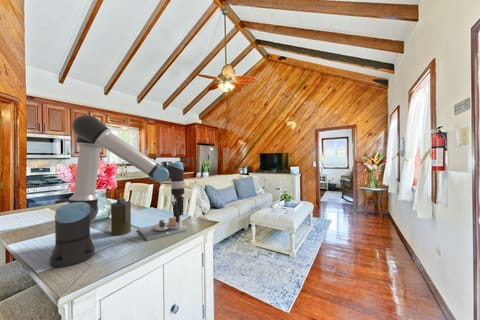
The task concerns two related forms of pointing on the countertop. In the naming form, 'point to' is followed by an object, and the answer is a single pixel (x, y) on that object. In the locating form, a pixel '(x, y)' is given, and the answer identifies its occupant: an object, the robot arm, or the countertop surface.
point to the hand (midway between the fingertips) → (179, 226)
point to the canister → (120, 217)
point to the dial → (165, 225)
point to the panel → (151, 235)
